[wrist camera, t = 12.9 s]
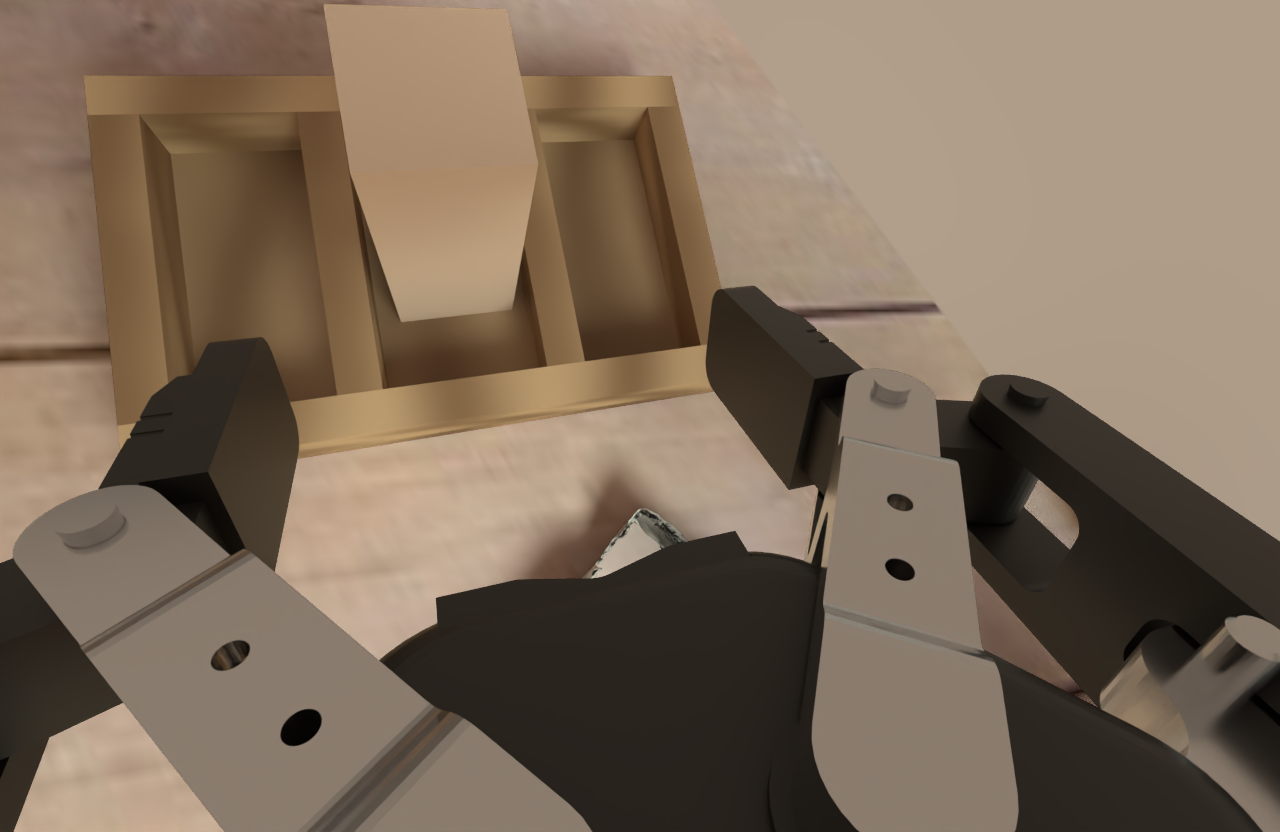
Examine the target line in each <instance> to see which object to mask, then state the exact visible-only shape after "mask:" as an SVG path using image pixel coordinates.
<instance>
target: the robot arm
mask: <svg viewBox="0 0 1280 832" xmlns="http://www.w3.org/2000/svg"><path fill="white" fill-rule="evenodd" d="M705 362H706V373H707V378H708V381H709V384H710V386H711V388H712V389H713V391H714V392H715V393H716V395H717V396H718V397H719V398H720V400H721V401H722V402H723V404H724V405H725V406H726V408H727V409H728V410H729V412H730V413H731V414H732V416H733V417H734V418H735V420H736V421H737V422H738V424H739V425H740V426H741V428H742V429H743V430H744V431H745V433H746V434H747V435H748V437H749V438H750V439H751V441H752V442H753V443H754V445H755V446H756V447H757V449H758V450H759V451H760V453H761V454H762V455H763V457H764V458H765V459H766V461H767V462H768V463H769V464H770V466H771V467H772V468H773V470H774V471H775V472H776V474H777V475H778V476H779V478H780V479H781V480H782V482H783V483H784V484H785V486H786V487H787V488H788V490H790V489H795V488H800V487H805V486H809V485H814V484H815V486H816V487H817V488H818V490H817V494H816V498H815V502H814V506H813V512H812V518H811V524H810V529H809V535H808V541H807V547H806V553H805V559H804V561H803V560H799V559H796V558H792V557H789V556H784V555H779V554H773V553H764V552H748V551H747V550H746V548H745V546H744V545H743V543H742V541H741V540H740V538H739V536H738V535H737V533H736V531H733V532H728V533H724V534H719V535H715V536H710V537H706V538H701V539H697V540H692V541H688V542H683V543H679V544H674V545H670V546H667V547H665V548H663V549H661V550H659V551H657V552H655V553H653V554H651V555H648V556H646V557H644V558H642V559H640V560H638V561H636V562H634V563H632V564H630V565H627V566H625V567H623V568H621V569H619V570H617V571H615V572H613V573H611V574H609V575H606V576H603V577H599V578H581V579H528V580H514V581H509V582H505V583H500V584H496V585H491V586H487V587H482V588H478V589H473V590H469V591H464V592H460V593H456V594H451V595H447V596H442V597H438V598H436V606H437V622H438V623H437V624H435V625H433V626H431V627H429V628H426V629H424V630H422V631H421V632H419V633H417V634H416V635H414V636H412V637H411V638H409V639H407V640H405V641H404V642H403V643H401V644H400V645H398V646H397V647H396V648H394V649H393V650H391V651H390V652H389V653H387V654H386V655H385V656H384V657H382V658H381V659H380V660H378V659H377V658H375V657H374V656H373V655H372V654H371V653H370V652H368V651H367V650H366V649H365V648H364V647H363V646H361V645H360V644H359V643H358V642H357V641H355V640H354V639H353V638H352V637H351V636H350V635H348V634H347V633H346V632H345V631H344V630H342V629H341V628H340V627H339V626H338V625H337V624H335V623H334V622H333V621H332V620H331V619H329V618H328V617H327V616H326V615H325V614H324V613H322V612H321V611H320V610H319V609H318V608H316V607H315V606H314V605H313V604H312V603H311V602H309V601H308V600H307V599H306V598H305V597H304V596H302V595H301V594H300V593H299V592H298V591H296V590H295V589H294V588H293V587H292V586H291V585H289V584H288V583H287V582H286V581H285V580H283V579H282V578H281V577H280V576H279V575H278V574H276V573H275V567H276V562H277V557H278V552H279V547H280V542H281V537H282V532H283V527H284V522H285V517H286V512H287V507H288V502H289V497H290V493H291V488H292V483H293V478H294V473H295V468H296V463H297V458H298V453H299V433H298V427H297V422H296V418H295V415H294V412H293V409H292V407H291V404H290V401H289V398H288V395H287V393H286V390H285V387H284V384H283V382H282V379H281V376H280V373H279V371H278V368H277V365H276V362H275V359H274V357H273V354H272V351H271V349H270V347H269V345H268V343H267V341H266V340H265V339H264V338H263V337H256V338H246V339H237V340H228V341H218V342H210V343H208V344H207V346H206V348H205V350H204V352H203V354H202V356H201V358H200V360H199V362H198V364H197V366H196V368H195V370H194V372H193V374H192V375H185V376H177V377H176V378H174V379H173V380H172V381H171V382H169V383H168V384H167V385H165V386H164V387H163V388H161V389H160V390H159V391H158V392H156V393H155V394H154V395H152V396H151V398H150V400H149V401H148V403H147V405H146V407H145V408H144V410H143V412H142V414H141V415H140V421H137V422H136V424H135V426H134V428H133V429H132V431H131V433H130V436H131V438H128V439H127V440H126V442H125V443H124V445H123V447H122V449H121V450H120V452H119V454H118V456H117V457H116V459H115V461H114V463H113V464H112V466H111V468H110V470H109V471H108V473H107V475H106V477H105V478H104V480H103V482H102V483H101V485H100V487H99V489H98V490H95V491H91V492H88V493H85V494H83V495H80V496H77V497H75V498H72V499H70V500H68V501H66V502H64V503H62V504H60V505H58V506H56V507H54V508H53V509H51V510H49V511H48V512H46V513H44V514H43V515H42V516H40V517H39V518H38V519H36V520H35V521H34V522H33V523H31V524H30V525H29V526H28V527H27V528H26V529H25V530H24V531H23V533H22V534H21V535H20V536H19V538H18V539H17V541H16V543H15V545H14V549H13V559H10V560H7V561H5V562H2V563H0V832H14V829H15V826H16V824H17V821H18V818H19V816H20V813H21V811H22V808H23V805H24V803H25V800H26V797H27V795H28V792H29V790H30V787H31V784H32V782H33V779H34V776H35V774H36V771H37V769H38V766H39V763H40V761H41V758H42V755H43V753H44V750H45V748H46V745H47V742H48V740H49V737H51V736H53V735H55V734H58V733H60V732H62V731H64V730H66V729H68V728H70V727H72V726H75V725H77V724H79V723H81V722H83V721H85V720H87V719H89V718H92V717H94V716H96V715H98V714H100V713H102V712H104V711H106V710H108V709H111V708H113V707H115V706H117V705H119V704H121V703H124V704H125V705H126V707H127V708H128V709H129V711H130V712H131V713H132V714H133V716H134V717H135V718H136V719H137V721H138V722H139V723H140V725H141V726H142V727H143V728H144V730H145V731H146V732H147V734H148V735H149V736H150V737H151V739H152V740H153V741H154V742H155V744H156V745H157V746H158V748H159V749H160V750H161V751H162V753H163V754H164V755H165V757H166V758H167V759H168V760H169V762H170V763H171V764H172V765H173V767H174V768H175V769H176V771H177V772H178V773H179V774H180V776H181V777H182V778H183V780H184V781H185V782H186V783H187V785H188V786H189V787H190V789H191V790H192V791H193V792H194V794H195V795H196V796H197V797H198V799H199V800H200V801H201V803H202V804H203V805H204V806H205V808H206V809H207V810H208V812H209V813H210V814H211V815H212V817H213V818H214V819H215V820H216V822H217V823H218V824H219V826H220V827H221V828H222V829H223V831H224V832H1280V541H1278V540H1277V539H1275V538H1274V537H1272V536H1271V535H1269V534H1268V533H1266V532H1265V531H1263V530H1262V529H1260V528H1259V527H1258V526H1256V525H1255V524H1253V523H1252V522H1250V521H1249V520H1247V519H1246V518H1244V517H1243V516H1242V515H1240V514H1239V513H1237V512H1236V511H1234V510H1233V509H1231V508H1230V507H1228V506H1227V505H1225V504H1224V503H1222V502H1221V501H1220V500H1218V499H1217V498H1215V497H1214V496H1212V495H1210V494H1209V493H1208V492H1206V491H1205V490H1203V489H1201V488H1200V487H1199V486H1197V485H1196V484H1194V483H1193V482H1192V481H1190V480H1189V479H1187V478H1186V477H1184V476H1183V475H1181V474H1180V473H1178V472H1177V471H1176V470H1174V469H1172V468H1171V467H1170V466H1168V465H1167V464H1165V463H1164V462H1162V461H1161V460H1159V459H1158V458H1156V457H1155V456H1153V455H1152V454H1150V453H1149V452H1148V451H1146V450H1145V449H1143V448H1142V447H1140V446H1139V445H1137V444H1136V443H1134V442H1133V441H1132V440H1130V439H1129V438H1127V437H1126V436H1124V435H1123V434H1121V433H1120V432H1118V431H1117V430H1115V429H1114V428H1112V427H1111V426H1110V425H1108V424H1107V423H1105V422H1104V421H1102V420H1101V419H1099V418H1098V417H1096V416H1095V415H1093V414H1091V413H1090V412H1089V411H1087V410H1086V409H1085V408H1083V407H1082V406H1080V405H1079V404H1077V403H1076V402H1074V401H1073V400H1071V399H1070V398H1068V397H1067V396H1066V395H1064V394H1063V393H1061V392H1060V391H1058V390H1056V389H1055V388H1053V387H1051V386H1049V385H1047V384H1044V383H1042V382H1039V381H1036V380H1033V379H1030V378H1026V377H1021V376H1015V375H994V376H990V377H987V378H985V379H984V380H982V382H981V383H980V386H979V388H978V390H977V393H976V395H975V398H974V400H973V401H952V400H936V399H935V395H934V393H933V392H932V391H931V389H930V388H929V387H928V386H926V385H925V384H924V383H922V382H921V381H919V380H917V379H916V378H914V377H911V376H909V375H906V374H903V373H900V372H897V371H892V370H886V369H865V370H864V369H863V368H862V367H861V366H859V365H858V364H857V363H856V362H855V361H854V360H852V359H851V358H850V357H849V356H848V355H846V354H845V353H844V352H843V351H842V350H841V349H839V348H838V347H837V346H836V345H835V344H834V343H832V342H829V339H828V338H827V337H825V336H824V335H823V334H822V333H821V332H817V329H816V328H815V327H814V326H812V325H811V324H810V323H809V322H808V321H807V320H805V319H804V318H803V317H802V316H800V315H797V314H795V313H793V312H791V311H789V310H786V309H784V308H782V307H779V306H778V305H776V304H775V303H774V302H773V301H772V300H771V299H770V298H768V297H767V296H766V295H765V294H764V293H763V292H762V291H760V290H759V289H758V288H757V287H755V286H745V287H736V288H726V289H718V290H717V291H716V292H715V294H714V296H713V299H712V304H711V314H710V323H709V332H708V341H707V350H706V361H705ZM1038 479H1039V480H1040V481H1042V482H1043V483H1044V484H1045V485H1046V486H1047V487H1049V488H1050V489H1051V490H1052V491H1053V492H1054V493H1056V494H1057V495H1058V496H1059V497H1060V498H1062V499H1063V500H1064V501H1065V502H1066V503H1067V504H1068V505H1069V506H1070V507H1071V508H1072V509H1073V510H1074V512H1075V514H1076V516H1077V518H1078V522H1079V535H1078V538H1077V540H1076V542H1075V543H1074V545H1073V546H1072V548H1071V549H1068V548H1067V547H1066V546H1065V545H1064V544H1063V543H1062V542H1061V541H1060V540H1059V539H1058V538H1057V537H1055V536H1054V535H1053V534H1052V533H1051V532H1050V531H1049V530H1048V529H1047V528H1046V527H1045V526H1044V525H1043V524H1041V523H1040V522H1039V521H1038V520H1037V519H1036V518H1035V517H1034V516H1033V515H1032V514H1031V513H1030V512H1028V511H1027V510H1026V509H1025V508H1024V505H1025V503H1026V502H1027V500H1028V498H1029V496H1030V494H1031V492H1032V491H1033V489H1034V487H1035V485H1036V483H1037V481H1038ZM972 566H973V567H974V568H975V569H976V570H977V572H978V573H979V574H980V575H981V576H982V577H983V578H984V579H985V581H986V582H987V583H988V584H989V585H990V586H991V587H992V588H993V590H994V591H995V592H996V593H997V594H998V595H999V596H1000V597H1001V599H1002V600H1003V601H1004V602H1005V603H1006V604H1007V605H1008V606H1009V608H1010V609H1011V610H1012V611H1013V612H1014V613H1015V614H1016V615H1017V617H1018V618H1019V619H1020V620H1021V621H1022V622H1023V623H1024V624H1025V626H1026V627H1027V628H1028V629H1029V630H1030V631H1031V632H1032V633H1033V635H1034V636H1035V637H1036V638H1037V639H1038V640H1039V641H1040V642H1041V644H1042V645H1043V646H1044V647H1045V648H1046V649H1047V650H1048V651H1049V653H1050V654H1051V655H1052V656H1053V657H1054V658H1055V659H1056V661H1057V662H1058V663H1059V664H1060V665H1061V666H1062V667H1063V668H1064V670H1065V671H1066V672H1067V673H1068V674H1069V675H1070V676H1071V677H1072V679H1073V680H1074V681H1075V682H1076V683H1077V684H1078V685H1079V686H1080V688H1081V689H1082V690H1083V691H1084V692H1085V693H1086V694H1087V695H1088V697H1089V698H1090V699H1091V700H1092V701H1093V702H1094V703H1095V704H1096V706H1097V707H1096V706H1094V705H1092V704H1090V703H1088V702H1086V701H1084V700H1082V699H1080V698H1078V697H1076V696H1074V695H1072V694H1070V693H1068V692H1066V691H1064V690H1062V689H1060V688H1058V687H1056V686H1054V685H1052V684H1050V683H1048V682H1047V681H1045V680H1043V679H1041V678H1039V677H1037V676H1035V675H1033V674H1031V673H1029V672H1027V671H1025V670H1023V669H1021V668H1019V667H1017V666H1015V665H1013V664H1011V663H1009V662H1007V661H1005V660H1003V659H1001V658H999V657H997V656H995V655H993V654H991V653H989V652H987V651H985V650H983V647H982V644H981V638H980V630H979V622H978V614H977V606H976V598H975V590H974V581H973V573H972Z"/></svg>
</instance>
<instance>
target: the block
mask: <svg viewBox="0 0 1280 832" xmlns="http://www.w3.org/2000/svg"><path fill="white" fill-rule="evenodd" d="M323 6H324V12H325V19H326V25H327V31H328V37H329V44H330V50H331V56H332V63H333V69H334V75H335V82H336V88H337V94H338V101H339V107H340V113H341V119H342V126H343V132H344V138H345V145H346V151H347V157H348V164H349V170H350V174H351V177H352V180H353V183H354V186H355V189H356V192H357V195H358V198H359V201H360V203H361V206H362V209H363V212H364V215H365V218H366V221H367V224H368V227H369V230H370V233H371V236H372V239H373V241H374V244H375V247H376V250H377V253H378V256H379V259H380V262H381V265H382V268H383V271H384V274H385V277H386V279H387V282H388V285H389V288H390V291H391V294H392V297H393V300H394V303H395V306H396V309H397V312H398V315H399V318H400V320H401V322H407V321H416V320H425V319H434V318H443V317H452V316H461V315H470V314H479V313H488V312H497V311H506V310H512V307H513V302H514V296H515V290H516V285H517V279H518V274H519V268H520V263H521V257H522V252H523V246H524V241H525V235H526V230H527V224H528V219H529V213H530V207H531V202H532V196H533V191H534V185H535V180H536V174H537V169H538V160H537V155H536V150H535V145H534V140H533V135H532V130H531V125H530V120H529V115H528V110H527V105H526V100H525V95H524V90H523V85H522V80H521V75H520V70H519V65H518V60H517V55H516V50H515V45H514V40H513V35H512V30H511V25H510V21H509V16H508V11H507V9H479V8H445V7H411V6H377V5H343V4H323Z"/></svg>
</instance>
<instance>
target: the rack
mask: <svg viewBox="0 0 1280 832" xmlns="http://www.w3.org/2000/svg"><path fill="white" fill-rule="evenodd" d="M521 80H522V85H523V90H524V95H525V100H526V105H527V110H528V115H529V120H530V125H531V130H532V135H533V140H534V145H535V150H536V155H537V160H538V169H537V174H536V180H535V185H534V191H533V196H532V202H531V207H530V213H529V219H528V224H527V230H526V235H525V241H524V246H523V252H522V257H521V263H520V268H519V274H518V279H517V285H516V290H515V296H514V302H513V307H512V310H506V311H497V312H488V313H479V314H470V315H461V316H452V317H443V318H434V319H425V320H416V321H407V322H401V320H400V318H399V315H398V312H397V309H396V306H395V303H394V300H393V297H392V294H391V291H390V288H389V285H388V282H387V279H386V277H385V274H384V271H383V268H382V265H381V262H380V259H379V256H378V253H377V250H376V247H375V244H374V241H373V239H372V236H371V233H370V230H369V227H368V224H367V221H366V218H365V215H364V212H363V209H362V206H361V203H360V201H359V198H358V195H357V192H356V189H355V186H354V183H353V180H352V177H351V174H350V170H349V164H348V157H347V151H346V145H345V138H344V132H343V126H342V119H341V113H340V107H339V101H338V94H337V88H336V82H335V76H84V86H85V96H86V106H87V117H88V127H89V137H90V147H91V158H92V168H93V178H94V188H95V198H96V209H97V219H98V229H99V239H100V250H101V260H102V270H103V280H104V291H105V301H106V311H107V321H108V332H109V342H110V352H111V362H112V372H113V383H114V393H115V403H116V413H117V424H118V434H119V444H120V450H121V449H122V447H123V445H124V443H125V442H126V440H127V439H128V438H131V436H130V433H131V431H132V429H133V428H134V426H135V424H136V422H137V421H140V415H141V414H142V412H143V410H144V408H145V407H146V405H147V403H148V401H149V400H150V398H151V396H152V395H154V394H155V393H156V392H158V391H159V390H160V389H161V388H163V387H164V386H165V385H167V384H168V383H169V382H171V381H172V380H173V379H174V378H176V377H177V376H185V375H192V374H193V372H194V370H195V368H196V366H197V364H198V362H199V360H200V358H201V356H202V354H203V352H204V350H205V348H206V346H207V344H208V343H210V342H218V341H228V340H237V339H246V338H256V337H263V338H264V339H265V340H266V341H267V343H268V345H269V347H270V349H271V351H272V354H273V357H274V359H275V362H276V365H277V368H278V371H279V373H280V376H281V379H282V382H283V384H284V387H285V390H286V393H287V395H288V398H289V401H290V404H291V407H292V409H293V412H294V415H295V418H296V422H297V427H298V433H299V453H298V458H297V459H299V458H305V457H311V456H317V455H323V454H329V453H336V452H342V451H348V450H354V449H360V448H366V447H373V446H379V445H385V444H391V443H397V442H403V441H410V440H416V439H422V438H428V437H434V436H440V435H447V434H453V433H459V432H465V431H471V430H477V429H483V428H490V427H496V426H502V425H508V424H514V423H520V422H527V421H533V420H539V419H545V418H551V417H557V416H564V415H570V414H576V413H582V412H588V411H594V410H601V409H607V408H613V407H619V406H625V405H631V404H638V403H644V402H650V401H656V400H662V399H668V398H675V397H681V396H687V395H693V394H699V393H705V392H711V391H713V389H712V388H711V386H710V384H709V381H708V378H707V373H706V362H705V361H706V350H707V341H708V332H709V323H710V314H711V304H712V299H713V296H714V294H715V292H716V291H717V290H718V289H721V286H720V282H719V278H718V273H717V269H716V265H715V260H714V256H713V252H712V247H711V243H710V239H709V234H708V230H707V226H706V221H705V217H704V213H703V208H702V204H701V200H700V195H699V191H698V187H697V183H696V178H695V174H694V170H693V165H692V161H691V157H690V152H689V148H688V144H687V139H686V135H685V131H684V126H683V122H682V118H681V113H680V109H679V105H678V101H677V96H676V92H675V88H674V83H673V79H672V76H521Z"/></svg>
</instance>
